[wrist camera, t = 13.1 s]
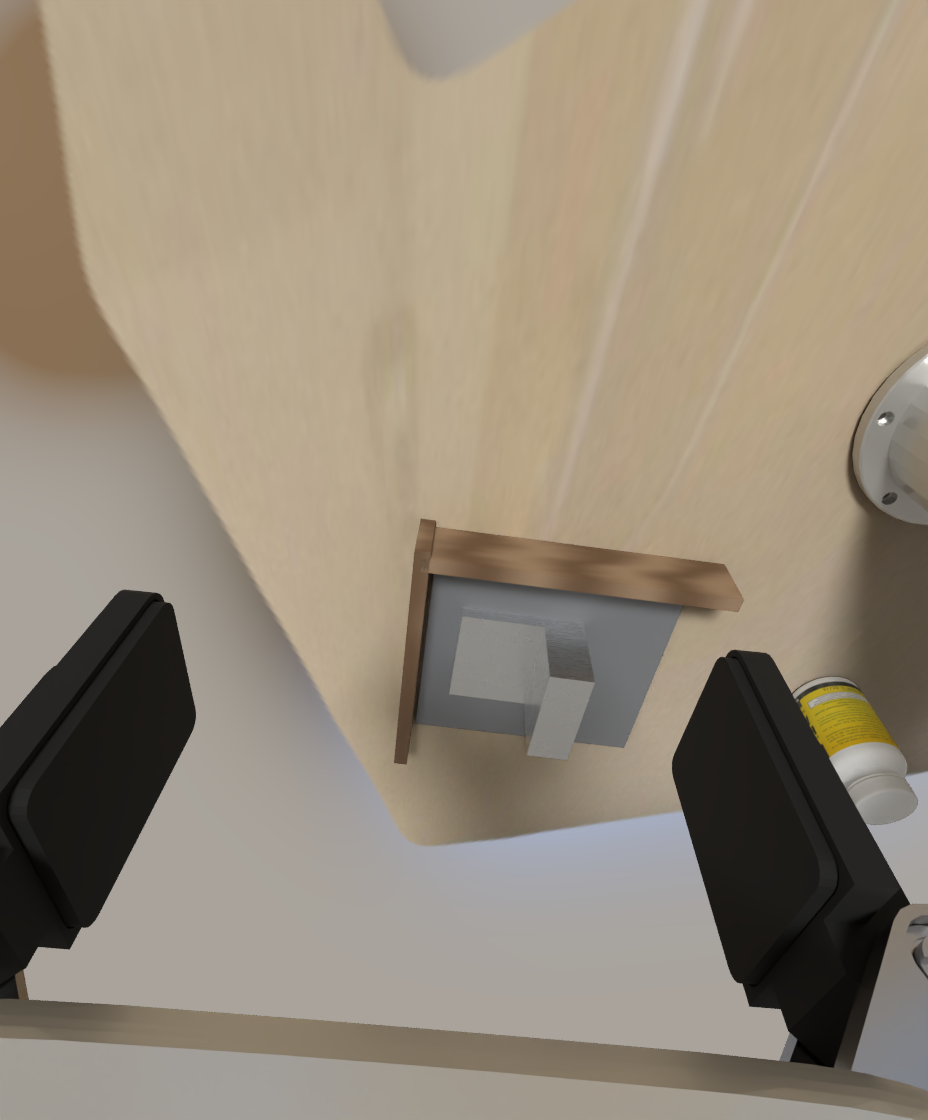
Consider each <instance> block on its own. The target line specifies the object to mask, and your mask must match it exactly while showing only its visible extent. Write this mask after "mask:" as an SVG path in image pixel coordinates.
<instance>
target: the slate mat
mask: <svg viewBox="0 0 928 1120" xmlns="http://www.w3.org/2000/svg"><path fill="white" fill-rule="evenodd" d="M463 608H468V609H476V610H483V611H491V612H499V613H506V614H514V615H522V616H529V617H537V618H545V619H552V620H560V621H567V622H575V623H583V624H584V627H585V633H586V638H587V643H588V648H589V654H590V659H591V664H592V669H593V675H594V680H595V684H594V687H593V689H592V692H591V695H590V698H589V701H588V704H587V706H586V709H585V712H584V715H583V718H582V720H581V723H580V726H579V729H578V732H577V734H576V737H575V740H574V742H578V743H587V744H595V745H604V746H613V747H621V748H624V746H625V744H626V742H627V739H628V737H629V735H630V732H631V730H632V727H633V725H634V723H635V720H636V718H637V715H638V713H639V711H640V708H641V706H642V703H643V701H644V699H645V696H646V694H647V691H648V689H649V687H650V684H651V682H652V679H653V677H654V675H655V672H656V670H657V667H658V665H659V663H660V660H661V658H662V655H663V653H664V651H665V648H666V646H667V644H668V641H669V639H670V636H671V634H672V632H673V629H674V627H675V624H676V622H677V620H678V617H679V615H680V612H681V610H682V608H683V605H678V604H670V603H662V602H654V601H646V600H638V599H631V598H623V597H615V596H607V595H599V594H591V593H583V592H575V591H567V590H559V589H551V588H543V587H535V586H528V585H520V584H512V583H504V582H496V581H488V580H480V579H472V578H464V577H456V576H448V575H440V574H434V576H433V584H432V593H431V601H430V609H429V618H428V626H427V634H426V642H425V651H424V659H423V667H422V676H421V684H420V692H419V700H418V709H417V717H416V724H425V725H433V726H442V727H450V728H459V729H467V730H476V731H484V732H493V733H501V734H510V735H519V736H526V734H525V715H524V704H523V703H515V702H507V701H499V700H491V699H483V698H475V697H467V696H459V695H451V694H449V688H450V681H451V675H452V669H453V663H454V657H455V651H456V645H457V640H458V634H459V628H460V622H461V616H462V610H463Z"/></svg>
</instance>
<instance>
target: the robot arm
mask: <svg viewBox="0 0 928 1120" xmlns="http://www.w3.org/2000/svg"><path fill="white" fill-rule="evenodd" d="M852 456H853V468H854V473H855V476H856V479H857V482H858V484H859V486H860V488H861V489H862V491H863V492H864V493H865V495H866V496H867V498H868V499H869V500H870V501H871V502H872V503H874V504H875V505H876V506H877V507H878V508H879V509H880V510H882V511H883V512H885V513H887V514H888V515H890V516H891V517H893V518H896V519H899V520H902V521H905V522H907V523H912V524H919V525H927V526H928V344H927V345H925V346H924V347H923V348H921V349H920V350H919V351H917V352H916V353H915V354H913V355H912V356H911V357H909V358H908V359H907V360H906V361H905V362H904V363H903V364H902V365H901V366H900V367H898V368H897V369H896V370H895V371H894V372H893V373H892V374H891V375H890V376H889V377H888V378H887V380H886V381H885V382H884V384H883V385H882V386H881V387H880V389H879V390H878V391H877V392H876V394H875V395H874V396H873V398H872V400H871V402H870V403H869V405H868V407H867V409H866V410H865V412H864V414H863V416H862V418H861V421H860V424H859V426H858V429H857V432H856V435H855V440H854V447H853V453H852ZM195 719H196V710H195V705H194V701H193V696H192V692H191V687H190V683H189V677H188V673H187V668H186V664H185V659H184V654H183V650H182V645H181V640H180V636H179V631H178V627H177V622H176V617H175V613H174V609H173V606H172V605H171V604H170V603H166V602H164V600H163V597H162V596H161V595H160V594H158V593H151V592H142V591H131V590H122V591H120V592H119V593H117V595H115V596H114V598H113V599H112V600H111V601H110V602H109V604H108V605H107V606H106V607H105V609H104V610H103V611H102V612H101V613H100V614H99V615H98V617H97V618H96V619H95V620H94V621H93V623H92V624H91V625H90V626H89V627H88V629H87V630H86V631H85V632H84V633H83V635H82V636H81V637H80V638H79V639H78V641H77V642H76V643H75V644H74V645H73V646H72V648H71V649H70V650H69V651H68V653H67V654H66V655H65V656H64V657H63V658H62V660H61V661H60V662H59V663H58V664H57V665H56V666H54V667H53V668H52V669H51V670H49V671H48V672H47V673H46V674H45V675H44V676H43V678H42V679H41V680H40V681H39V682H38V684H37V685H36V686H35V687H34V688H33V689H32V691H31V692H30V693H29V694H28V695H27V697H26V698H25V699H24V700H23V701H22V702H21V704H20V705H19V706H18V707H17V708H16V710H15V711H14V712H13V713H12V714H11V715H10V717H9V718H8V719H7V720H6V721H5V722H4V724H3V725H2V726H1V727H0V1120H928V904H911V905H910V903H909V901H908V899H907V898H906V896H905V894H904V892H903V890H902V888H901V887H900V885H899V883H898V881H897V880H896V878H895V876H894V874H893V872H892V870H891V869H890V867H889V865H888V864H887V861H886V860H885V858H884V856H883V854H882V852H881V851H880V849H879V847H878V845H877V843H876V842H875V840H874V838H873V836H872V834H871V833H870V831H869V829H868V827H867V825H866V824H865V822H864V820H863V818H862V817H861V815H860V813H859V811H858V809H857V808H856V806H855V804H854V802H853V800H852V799H851V797H850V795H849V793H848V791H847V790H846V788H845V786H844V784H843V782H842V781H841V779H840V777H839V775H838V773H837V772H836V770H835V768H834V766H833V764H832V763H831V761H830V759H829V757H828V755H827V754H826V752H825V750H824V748H823V747H822V745H821V744H820V743H819V741H818V740H817V738H816V736H815V734H814V733H813V731H812V729H811V727H810V725H809V724H808V722H807V720H806V718H805V716H804V715H803V713H802V711H801V709H800V707H799V706H798V704H797V702H796V700H795V698H794V697H793V695H792V693H791V691H790V689H789V687H788V686H787V684H786V682H785V680H784V678H783V677H782V675H781V673H780V671H779V669H778V668H777V666H776V664H775V662H774V660H773V659H772V658H771V656H770V655H768V654H767V653H760V652H750V651H740V650H731V651H730V652H729V653H728V654H727V656H726V657H720V658H719V659H717V661H716V663H715V665H714V667H713V669H712V671H711V674H710V676H709V678H708V680H707V683H706V685H705V687H704V689H703V691H702V694H701V696H700V698H699V700H698V703H697V705H696V707H695V709H694V712H693V714H692V716H691V718H690V720H689V723H688V725H687V727H686V729H685V732H684V734H683V736H682V738H681V740H680V743H679V745H678V747H677V749H676V752H675V754H674V757H673V761H672V774H673V778H674V782H675V785H676V789H677V792H678V796H679V799H680V802H681V806H682V809H683V813H684V816H685V819H686V823H687V826H688V829H689V833H690V837H691V840H692V844H693V847H694V850H695V854H696V857H697V861H698V864H699V867H700V871H701V874H702V878H703V881H704V885H705V888H706V891H707V895H708V898H709V902H710V905H711V909H712V912H713V916H714V919H715V923H716V926H717V930H718V933H719V936H720V940H721V943H722V946H723V950H724V954H725V957H726V960H727V964H728V967H729V970H730V973H731V975H732V977H733V978H734V980H735V981H736V982H737V983H743V986H744V990H745V993H746V996H747V999H748V1003H749V1006H750V1007H762V1008H775V1009H781V1011H782V1014H783V1017H784V1020H785V1023H786V1026H787V1029H788V1031H789V1032H790V1034H789V1036H788V1039H787V1041H786V1044H785V1047H784V1050H783V1053H782V1055H781V1058H780V1060H779V1061H776V1060H766V1059H757V1058H747V1057H738V1056H729V1055H720V1054H710V1053H701V1052H690V1051H678V1050H667V1049H654V1048H643V1047H632V1046H621V1045H609V1044H598V1043H586V1042H574V1041H562V1040H551V1039H539V1038H528V1037H517V1036H505V1035H493V1034H481V1033H468V1032H455V1031H444V1030H432V1029H420V1028H408V1027H395V1026H383V1025H371V1024H359V1023H346V1022H333V1021H322V1020H309V1019H295V1018H283V1017H270V1016H257V1015H243V1014H230V1013H218V1012H205V1011H204V1012H203V1011H192V1010H179V1009H165V1008H152V1007H140V1006H127V1005H109V1004H92V1003H74V1002H57V1001H40V1000H29V998H28V993H27V988H26V982H25V977H24V971H23V970H24V969H25V968H26V967H27V965H28V963H29V962H30V960H31V958H32V956H33V955H34V953H35V951H36V949H37V948H38V947H47V948H59V949H70V948H71V946H72V944H73V942H74V940H75V938H76V937H77V934H78V933H79V931H80V929H81V927H83V928H86V927H89V926H90V925H91V924H92V923H93V922H94V921H95V920H96V918H97V916H98V915H99V913H100V911H101V909H102V907H103V905H104V903H105V901H106V899H107V897H108V895H109V893H110V891H111V889H112V887H113V886H114V884H115V882H116V880H117V877H118V876H119V874H120V872H121V870H122V868H123V866H124V864H125V862H126V860H127V858H128V856H129V854H130V852H131V850H132V848H133V846H134V844H135V843H136V841H137V839H138V837H139V834H140V833H141V831H142V829H143V827H144V825H145V823H146V821H147V819H148V817H149V815H150V813H151V811H152V809H153V807H154V805H155V803H156V801H157V799H158V798H159V796H160V794H161V791H162V790H163V788H164V786H165V784H166V782H167V780H168V778H169V776H170V774H171V772H172V770H173V768H174V766H175V764H176V762H177V760H178V758H179V757H180V755H181V752H182V751H183V749H184V747H185V745H186V743H187V741H188V739H189V737H190V735H191V733H192V731H193V728H194V724H195Z"/></svg>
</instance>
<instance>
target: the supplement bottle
mask: <svg viewBox="0 0 928 1120" xmlns="http://www.w3.org/2000/svg"><path fill="white" fill-rule="evenodd" d="M793 697H794V698H795V700H796V702H797V704H798V706H799V707H800V709H801V711H802V713H803V715H804V716H805V718H806V720H807V722H808V724H809V725H810V727H811V729H812V731H813V733H814V734H815V736H816V738H817V740H818V741H819V743H820V744H821V745H822V747H823V748H824V750H825V752H826V754H827V755H828V757H829V759H830V761H831V763H832V764H833V766H834V768H835V770H836V772H837V773H838V775H839V777H840V779H841V781H842V782H843V784H844V786H845V788H846V790H847V791H848V793H849V795H850V797H851V799H852V800H853V802H854V804H855V806H856V808H857V809H858V811H859V813H860V815H861V817H862V818H863V820H864V822H865V823H866V824H871V825H883V824H889V823H893V822H896V821H899V820H901V819H903V818H905V817H907V816H909V815H910V814H911V813H912V812H913V811H914V810H915V809H916V807H917V805H918V800H917V797H916V795H915V793H914V792H913V790H912V788H911V787H910V785H909V784H908V783H907V781H906V779H905V776H906V773H907V763H906V760H905V758H904V756H903V754H902V753H901V751H900V749H899V748H898V746H897V745H896V743H895V742H894V740H893V739H892V737H891V736H890V734H889V733H888V731H887V730H886V728H885V727H884V725H883V724H882V722H881V721H880V719H879V718H878V716H877V714H876V713H875V711H874V710H873V708H872V707H871V705H870V704H869V702H868V701H867V699H866V698H865V696H864V695H863V693H862V692H861V690H860V689H859V688H858V686H857V685H856V684H855V683H853V682H852V681H850V680H848V679H845V678H841V677H824V678H819V679H816V680H813V681H811V682H808V683H806V684H804V685H803V686H801V687H800V688H798V689H797V690H796V691H795V692H794V693H793Z"/></svg>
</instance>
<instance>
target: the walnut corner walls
mask: <svg viewBox="0 0 928 1120" xmlns="http://www.w3.org/2000/svg"><path fill="white" fill-rule="evenodd" d="M435 523H436V521H433V520H426V519H421V521H420V526H419V532H418V537H417V542H416V547H415V552H414V563H413V573H412V584H411V594H410V604H409V615H408V625H407V635H406V646H405V656H404V666H403V677H402V687H401V697H400V708H399V718H398V728H397V739H396V749H395V760H394V763H398V764H407V757H408V750H409V743H410V736H411V729H412V721H413V713H414V704H415V695H416V687H417V678H418V670H419V661H420V652H421V644H422V635H423V626H424V618H425V609H426V601H427V592H428V583H429V575H430V573H432V574H440V575H448V576H456V577H464V578H472V579H480V580H488V581H496V582H504V583H512V584H520V585H528V586H535V587H543V588H551V589H559V590H567V591H575V592H583V593H591V594H599V595H607V596H615V597H623V598H631V599H638V600H646V601H654V602H662V603H670V604H678V605H686V606H694V607H702V608H710V609H718V610H726V611H734V612H738V611H739V609H740V607H741V605H742V603H743V601H744V599H743V597H742V595H741V593H740V592H739V590H738V588H737V586H736V584H735V583H734V581H733V579H732V577H731V575H730V574H729V572H728V570H727V568H726V566H725V565H724V564H717V563H709V562H701V561H694V560H686V559H678V558H670V557H663V556H655V555H647V554H639V553H632V552H624V551H616V550H608V549H601V548H593V547H585V546H577V545H570V544H562V543H554V542H546V541H539V540H531V539H523V538H515V537H508V536H500V535H492V534H484V533H477V532H469V531H461V530H453V529H446V528H438V527H435Z"/></svg>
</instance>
